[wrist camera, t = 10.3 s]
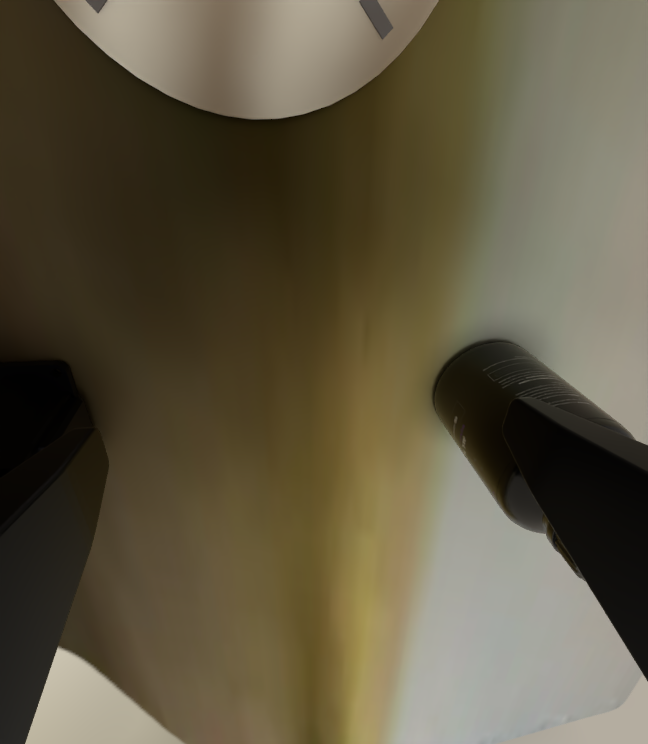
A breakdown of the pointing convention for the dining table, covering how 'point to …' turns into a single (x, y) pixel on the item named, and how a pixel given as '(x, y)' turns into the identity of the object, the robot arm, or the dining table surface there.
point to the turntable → (252, 48)
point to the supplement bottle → (486, 416)
